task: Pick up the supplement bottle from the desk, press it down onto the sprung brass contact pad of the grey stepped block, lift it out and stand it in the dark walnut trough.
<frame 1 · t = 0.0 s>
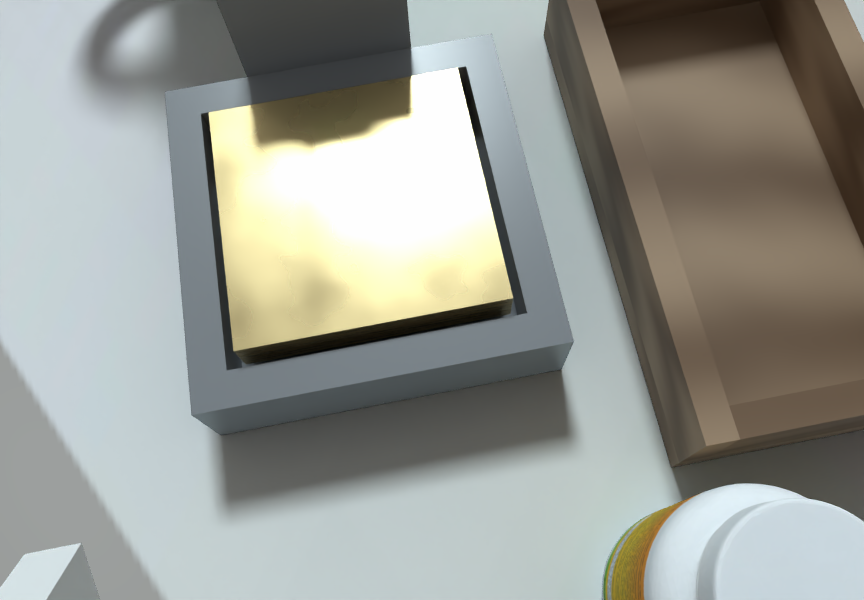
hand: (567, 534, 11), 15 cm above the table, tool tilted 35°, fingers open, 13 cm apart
grey stepped block: (365, 247, 30), on the table
contact pad: (355, 210, 27), point 3 cm above the table, slide at 0.3 cm
trough: (724, 205, 30), on the table
supplement bottle: (683, 598, 25), on the table
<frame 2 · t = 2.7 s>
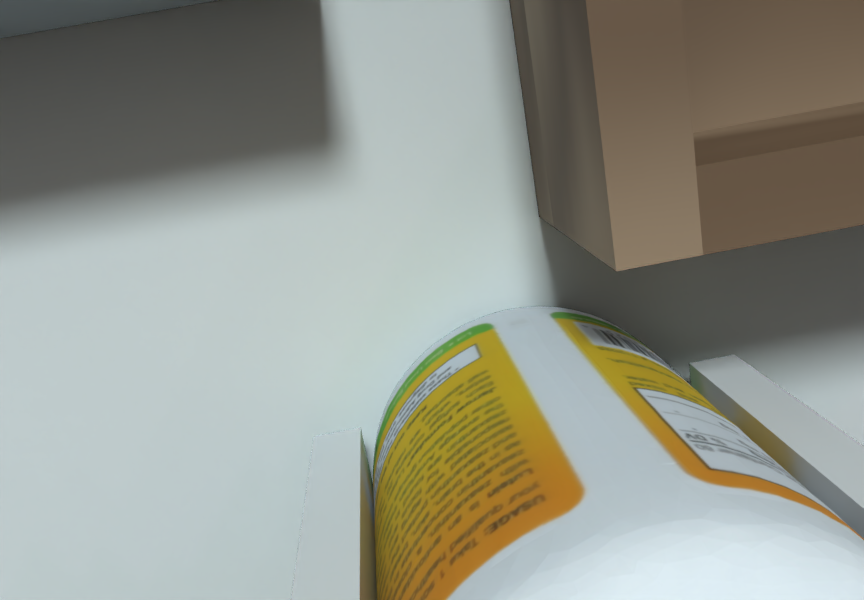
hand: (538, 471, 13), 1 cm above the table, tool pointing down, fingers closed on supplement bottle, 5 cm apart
supplement bottle: (525, 444, 14), on the table, touching gripper
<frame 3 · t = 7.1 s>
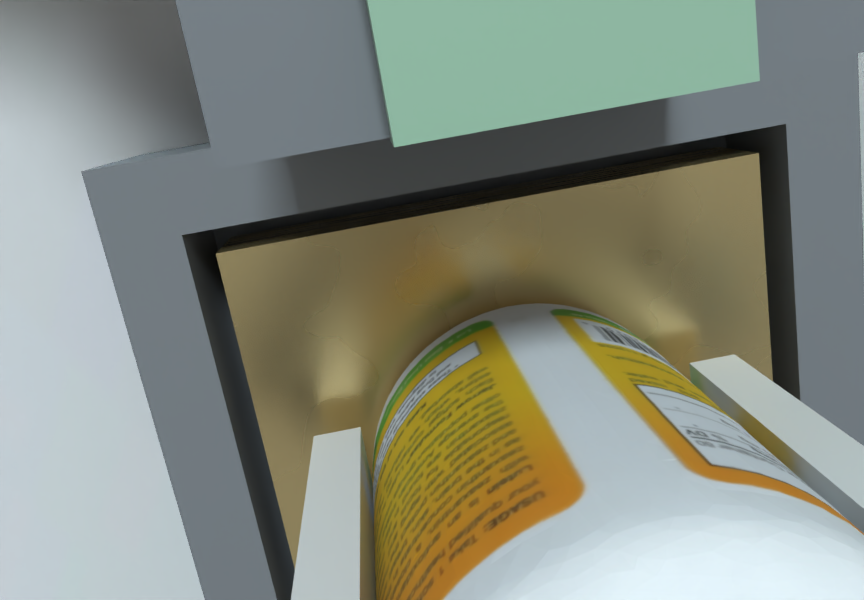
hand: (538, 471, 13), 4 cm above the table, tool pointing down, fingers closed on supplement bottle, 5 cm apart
grey stepped block: (499, 388, 17), on the table
contact pad: (520, 433, 14), point 2 cm above the table, slide at 0.9 cm, touching supplement bottle
supplement bottle: (525, 442, 14), point 3 cm above the table, touching contact pad, gripper
when the fingers open (3 cm above the table, at t = 12.3 s): supplement bottle stays where it is, resting on trough.
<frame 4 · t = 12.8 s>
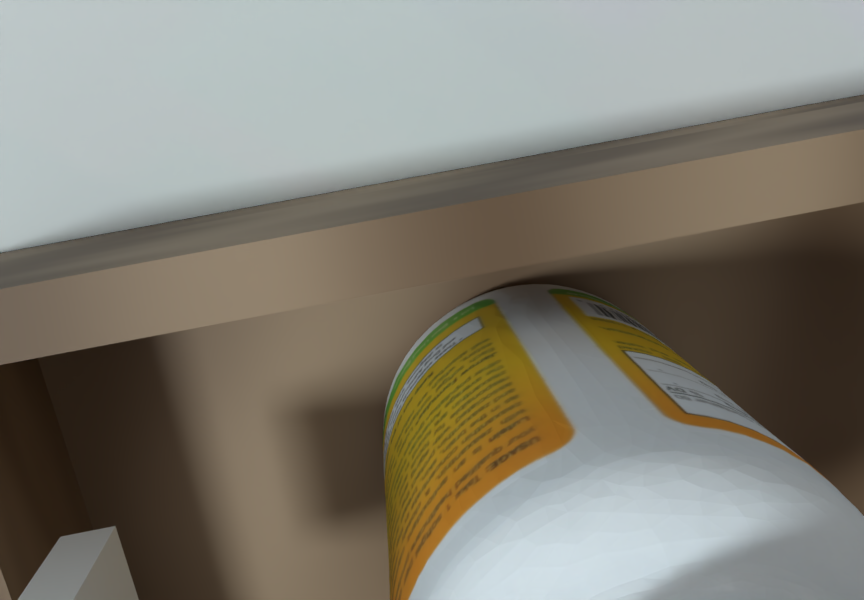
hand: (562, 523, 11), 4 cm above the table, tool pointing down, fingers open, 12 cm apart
trough: (508, 405, 16), on the table
supplement bottle: (524, 415, 15), point 1 cm above the table, touching trough
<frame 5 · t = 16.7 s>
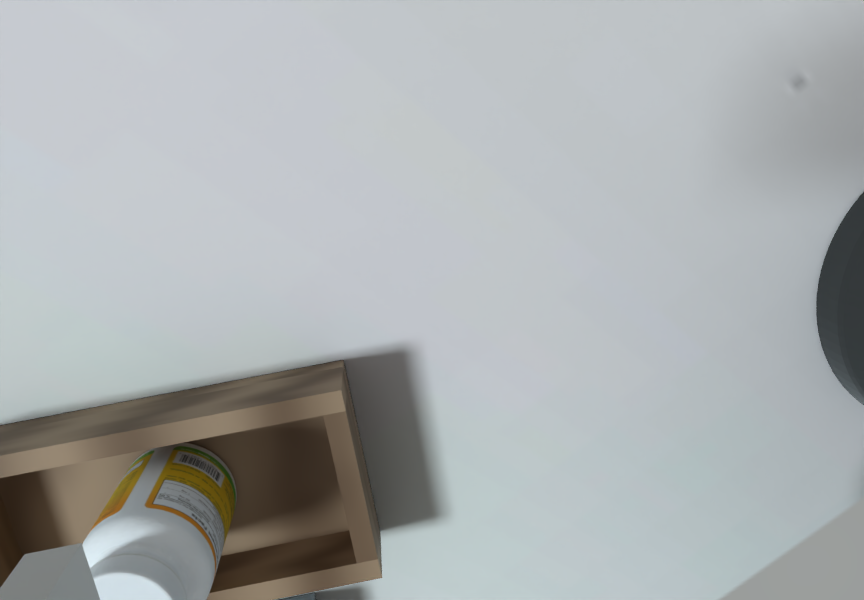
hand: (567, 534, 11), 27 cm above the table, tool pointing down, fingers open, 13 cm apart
trough: (182, 483, 39), on the table
supplement bottle: (182, 489, 38), point 1 cm above the table, touching trough
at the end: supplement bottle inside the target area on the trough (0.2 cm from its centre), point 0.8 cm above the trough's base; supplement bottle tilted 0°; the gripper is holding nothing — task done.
